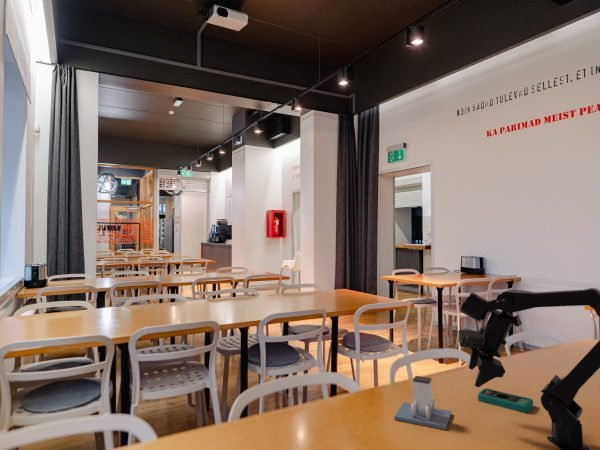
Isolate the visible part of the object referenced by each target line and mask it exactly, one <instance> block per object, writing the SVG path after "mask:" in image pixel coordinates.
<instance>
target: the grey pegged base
mask: <svg viewBox="0 0 600 450" xmlns="http://www.w3.org/2000/svg"><path fill="white" fill-rule="evenodd" d="M435 405H436V404H435V397H432V415H431V417H430V406H426V417H425V416H420V415H416V404H414V402H413V403H411V402H410V403H409V402H404V401H403V402H402V404H401V406H400V407H399V408H398V411H397V412H396V414H395V415H394V420H395V421H398V422H404V423H407V424H409V423H410V424H413V425H419V426H423V427H429V428H434V429H437V428H438V429H439V430H442V429H443V431H447V428H448V425H449V423H450V420H451V416H452V410H450V409H449V410H448V409H443V408H437V407H435ZM448 422H449V423H448ZM438 429H437V430H438Z"/></svg>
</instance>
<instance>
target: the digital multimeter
mask: <svg viewBox="0 0 600 450" xmlns="http://www.w3.org/2000/svg"><path fill="white" fill-rule="evenodd" d="M477 401H479V402H482V403H485V404H490V405H493V406H497V407H501V408H504V409H505V408H506V409H510V410H513V411H516V412H520V413H524V414H527V413H529V412H531V410H533V408H534V400H533V399H532V398H531V397H526V396H521V395H517V394H512V393H507V392H503V391H499V390H495V389H491V388H484V389H482V390H480V391H479V392H478V393H477Z"/></svg>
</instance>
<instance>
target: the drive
mask: <svg viewBox="0 0 600 450" xmlns="http://www.w3.org/2000/svg"><path fill="white" fill-rule="evenodd" d="M412 382H413V384H412V385H413V386H412V387H413V389H412V390H413V403H414V404H416V415H420V416H425V417H426V406H430V417H431V415H432V398H433V391H432V390H433V389H432V388H433V387H432V385H433V384H432V383H433V382H432V377H427V376H420V375H419V376H418V375H415V376H414V378H413V380H412Z"/></svg>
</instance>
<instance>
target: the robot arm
mask: <svg viewBox="0 0 600 450" xmlns="http://www.w3.org/2000/svg"><path fill="white" fill-rule="evenodd" d="M579 306H583V307H584V306H589V307H590V308H591V309H593V310H594V311H596V313H597V314H599V315H600V289H598V288H594V287H589V288H586V289H585V288H584V289H571V290H569V289H568V290H555V291H537V292H536V291H530V290H529V291H528V290H520V289H508V290H505V291H502V292H500V293H498V294H497V296H496V299H491V300H488V299H485V298H483V297H482V296H480V295H479V294H477V293H475V292H471V293H470V294H469V296H468V297H467V298H466V299H465V301H464V302H462V305H461V306H460V313H462V314H463V315H466V316H467V317H468V318H471V319H472V320H474V321H476V322H478V323H481V322H482V321H483V322H486V324H485V326H484V327H483V326H482V327H479V330H473V329H458V331H457V332H458V334H457V335H458V336H457V339H458V340H457V341H458V343H459V346H460V347H461V348H469V349H470V357H469V363H468V369H469V370H474V369H475V368H476V367H477V368H478V372H477V375H476V378H475V382H474V387H477V388H480V387H482V386H484V384H487V383H488V382H490V381H492V380H494V379H497V378H503V377H504V376H505V374H506V370H505V367H504V365H503V364H502V361H501V360H499V359H496V358H500V356H501V353H500V350H501V348H502V346H507V345H506V344H507V343H508V341H506V340H507V339H506V338H507V336H508V334H509V332H510V330H511V328H512V326H513V325H514V326H515V327H516V328H517V327H520V326H521V325H522V324H523V322H522V321H521V319H520V315H519V314H517V315H512V314H513V313H518V312H521V311H526V310H530V309H534V308H549V307H550V308H553V307H554V308H555V307H557V308H558V307H579ZM511 313H512V314H511ZM494 357H496V358H494ZM599 370H600V339H599V340H598V341H597V342H596V343H595V344H594V346H592V348H590V349H589V351H588V352H587V353H586V354H585V355H584V356H583V357H582V358H581V359H580V360H579V362H578V363H577V364H575V366H574V367H573V368H572V369H571V370H570V371H569V372H568V373H567V374H566V375H564V376H562V377H561V378H560V377H559V376H558V375H557V374H555V375H554V376H553V378H552V379H551V380H550V382H549V383H546V384H545V386H544V387H543V388H542V389H541V390H540V392H541V393H542V394H541V396H540V403H541V405H542V407H543V409H545V411H546V412H548V413H547V414H548V415H549V417H550V421H551V434H552V435H549V436H546V439H547V440H548V441H550V442H551V443H552V444H554V445H556V447H558V448H559V449H561V450H590V447H589V446H587V445H585V444H584V442H583V424H582V423H581V420H580V417H581V415H582V414H583V411H584V409H583V408H582V407H581V406H580V405H579V404H578V403H577V402H576V401H575V400H574V399H575V397H576V396H577V393H578V392H579V391H580V389H581V388H582V387H583V386H584V385H585V384H586V383H587V382H588V381H589V380H590V379H591V378H592V377H593V375H594V374H595V373H596V372H598V371H599Z"/></svg>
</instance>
